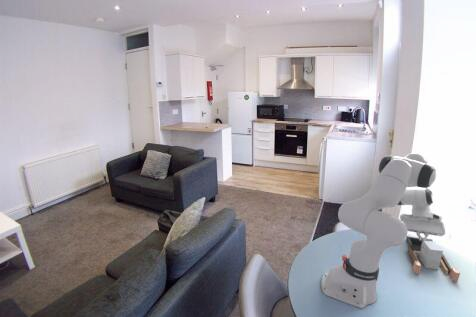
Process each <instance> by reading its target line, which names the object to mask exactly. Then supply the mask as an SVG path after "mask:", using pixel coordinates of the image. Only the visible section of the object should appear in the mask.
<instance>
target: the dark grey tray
mask: <svg viewBox="0 0 476 317" xmlns="http://www.w3.org/2000/svg"><path fill="white" fill-rule="evenodd" d="M405 241H406V245H407V246H409V247H411V249H412V250H413V251H419V252H420V248H421V244H422V241H419V237H413V236H408V235H407V237H406V239H405Z"/></svg>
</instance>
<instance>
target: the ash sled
mask: <svg viewBox="0 0 476 317" xmlns="http://www.w3.org/2000/svg"><path fill="white" fill-rule="evenodd" d="M423 241H432V242H434V240H433V239H432V238H424V237H423V240H422V243H423ZM421 247H422V244H421ZM412 251H413V254H414V256H415V258H416V261H418V262H420V259H419V256H420V252H421V248H420V252H419V251H414V250H412ZM439 267H441V269H442V272H443V273H444V274H445V275H448V269H447V267H446V266H445V264H444V262H443V260H442V259H441V261H440V265H439Z"/></svg>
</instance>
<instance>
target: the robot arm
mask: <svg viewBox="0 0 476 317" xmlns="http://www.w3.org/2000/svg"><path fill="white" fill-rule="evenodd" d="M436 171H437V170H436V168H435V167H434V166H433V165H432V164H429V163H428V160H427V159H426V156H424V155H423V154H421V153H419V152H410V153H408V154H407V155H405V156H403V157H402V156H395V155H386V156H384V157H382V158H381V159H380V162H379V165H378V172H379V174H378V176H377V178H376V179H375V181H374V183H373V184H372V186H371V187H370V189H369V190H368V191H367V192H366V193H365V194H363V195H362V196H360V197H359V198H355V199H353V200H348V201H346V202H344V203H342V204H341V205H340V207H339V208H338V211H337V216H338V220H339V222H340V223H341V224H343V226H346V227H347V228H349V229H350V230H353V231H355V232H357V233H360V234H362V235H364V236H366V238H360V239H356V240H354V241H353V242H352V243H351V246H350V251H349V252H350V253H349V257H348V256H347V255H346V254H343V255H342V256H341V257H342V259H341V260H342V261H343V262H342V263H341V264H338V265H335V266H334V265H333V266H332V267H331V268H330V269H329V271H328V272H325V273H324V274H323V275H322V277H321V281H320V285H321V286H320V287H321V291H322V292H323V294H324V295H325V296H327V297H330V298H333V299H336V300H338V301H340V302H343V303H346V304H348V305H350V306H354V307H357V308H359V309H363V308H365V307H366V306H368V305H373V304H374V303H375V302H376V301H377V299H378V292H377V281H378V278H379V273H380V267H379V265H380V261H381V257H382V254H383V253H384V252H385V251H386V250H387V249H389V248H392V247H397V246H400V245H401V244H403V243H404V242H405V241H406V238H407V236H408V232H412V233H415V234H416V236H417V238H419V241H422V240H423V238H426V239H428V237H429V235H431V236H436V237H443V236H445V235H446V228H445V225H444V222H443V221H442V220H443V217H442V216H441V215H438V214H436V213H433V212H432V211H431V208H430V207H431V205H432V204H434V201H433V191H432V190H430V189H429V188H430V187H431V186H432V185H433V183H434V182H435V180H436V176H437V174H436V173H437V172H436ZM396 206H412V207H411V214H410V213H409V214H408V213H402V214H400V218H398V217H396V216H394V215H392V214H390V213H386V212H384V211H381V209H386V208H387V209H389V208H390V209H391V208H393V207H396ZM421 234H423V235H424V237H423V236H421Z"/></svg>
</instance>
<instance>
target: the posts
mask: <svg viewBox="0 0 476 317" xmlns="http://www.w3.org/2000/svg"><path fill="white" fill-rule="evenodd" d="M420 262H421V261H419V262H418V261H414V266H413V265H412V271H413V274H416V275H420V272H421V268H422V265H421V263H420ZM451 268H452V270H451V274H450V275H449V277H450V280H451V281H452V282H455V283H458V281H459V279H460V274H461V273H460V271H459V270H458V268H456V267H455V268H454V267H451Z"/></svg>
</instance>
